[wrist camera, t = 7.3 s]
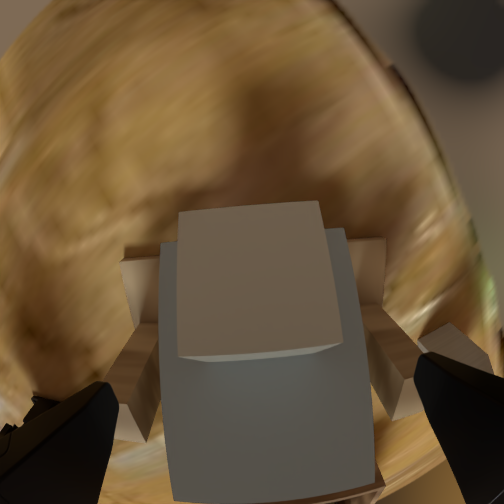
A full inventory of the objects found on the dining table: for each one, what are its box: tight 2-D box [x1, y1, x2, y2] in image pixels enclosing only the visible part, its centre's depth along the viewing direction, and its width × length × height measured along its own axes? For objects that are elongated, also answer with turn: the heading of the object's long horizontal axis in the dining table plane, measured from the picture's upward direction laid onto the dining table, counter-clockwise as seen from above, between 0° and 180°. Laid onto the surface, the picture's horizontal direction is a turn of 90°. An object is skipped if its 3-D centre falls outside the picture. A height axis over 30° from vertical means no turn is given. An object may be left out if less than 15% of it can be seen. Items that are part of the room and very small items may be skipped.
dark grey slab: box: [158, 228, 375, 504], centre depth 15 cm, size 14×10×5 cm
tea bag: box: [417, 322, 494, 375], centre depth 17 cm, size 4×7×10 cm, turn 20°
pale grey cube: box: [177, 200, 343, 362], centre depth 11 cm, size 5×5×5 cm
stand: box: [103, 237, 424, 443], centre depth 15 cm, size 12×18×9 cm
